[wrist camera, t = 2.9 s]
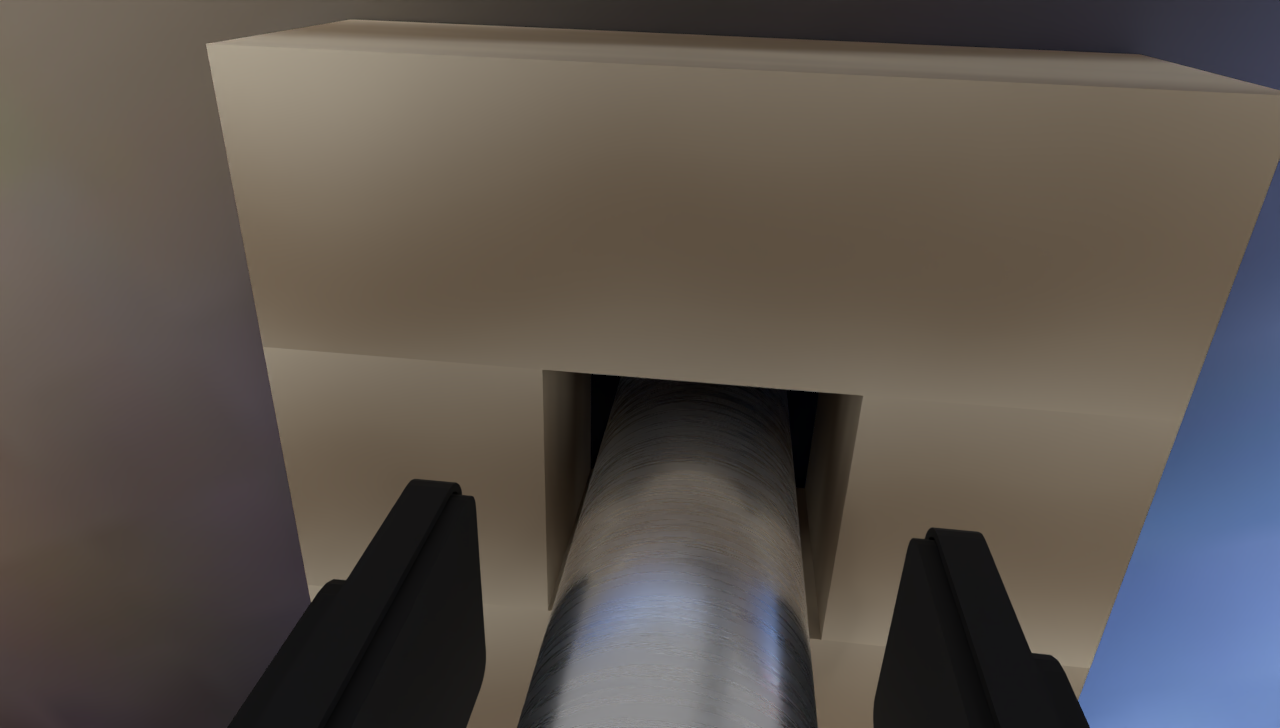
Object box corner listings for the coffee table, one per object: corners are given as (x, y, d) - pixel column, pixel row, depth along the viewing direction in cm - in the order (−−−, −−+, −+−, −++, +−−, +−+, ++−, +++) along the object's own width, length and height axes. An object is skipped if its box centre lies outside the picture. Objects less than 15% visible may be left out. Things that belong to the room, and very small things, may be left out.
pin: (624, 301, 15) (315, 1195, 4) (794, 314, 15) (926, 1296, 4) (621, 445, 16) (378, 1398, 6) (776, 459, 16) (838, 1487, 5)
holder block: (351, 19, 13) (205, 43, 10) (1139, 54, 12) (1303, 96, 9) (416, 599, 19) (339, 752, 15) (969, 658, 18) (1025, 838, 14)
